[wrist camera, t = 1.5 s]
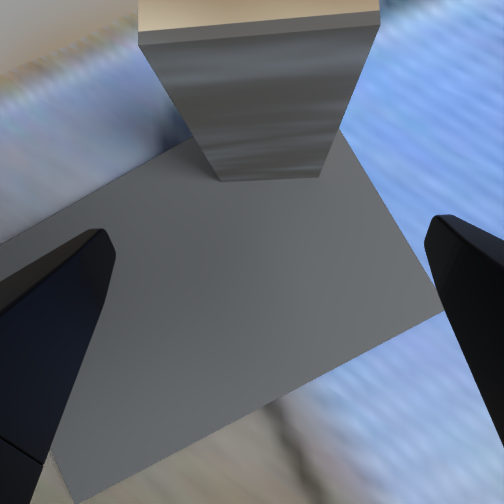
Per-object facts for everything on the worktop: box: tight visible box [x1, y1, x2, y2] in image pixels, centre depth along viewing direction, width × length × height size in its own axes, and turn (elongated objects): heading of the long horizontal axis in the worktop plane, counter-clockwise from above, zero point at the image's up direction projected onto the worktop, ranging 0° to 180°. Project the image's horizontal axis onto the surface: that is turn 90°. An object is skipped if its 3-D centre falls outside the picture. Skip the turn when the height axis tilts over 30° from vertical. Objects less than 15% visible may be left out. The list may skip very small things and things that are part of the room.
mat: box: [0, 128, 444, 504], centre depth 22 cm, size 18×27×1 cm, turn 118°
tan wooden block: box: [138, 0, 380, 182], centre depth 15 cm, size 3×6×13 cm, turn 92°
